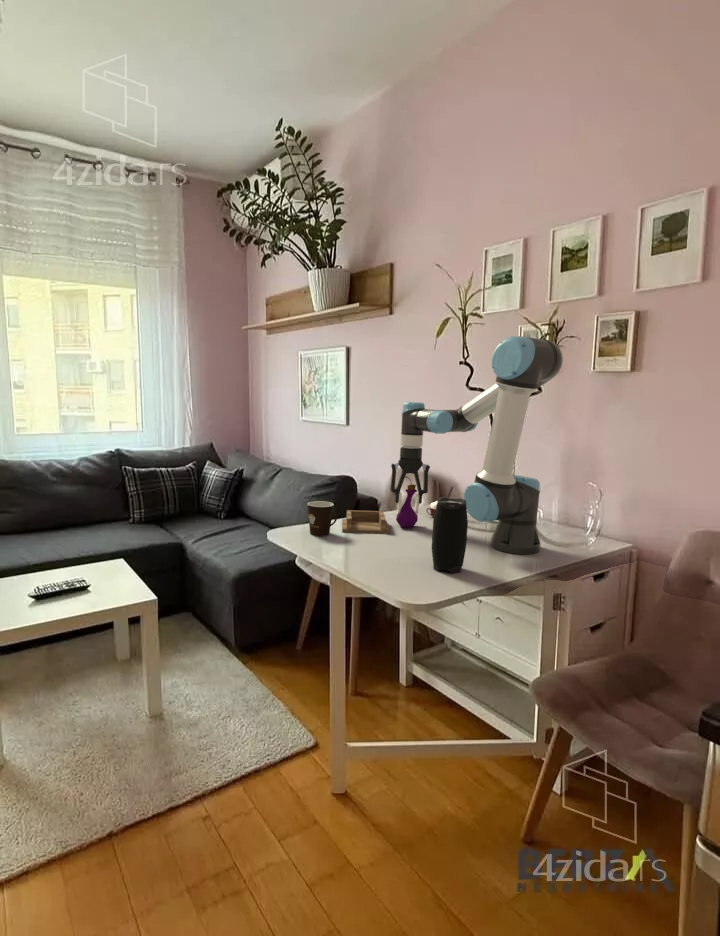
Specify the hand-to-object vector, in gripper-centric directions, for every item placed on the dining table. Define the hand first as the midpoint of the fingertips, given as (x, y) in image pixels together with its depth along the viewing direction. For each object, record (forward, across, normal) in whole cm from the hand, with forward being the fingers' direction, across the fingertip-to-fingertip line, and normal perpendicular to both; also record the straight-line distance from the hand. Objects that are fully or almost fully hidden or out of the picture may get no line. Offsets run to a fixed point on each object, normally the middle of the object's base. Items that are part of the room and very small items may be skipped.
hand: (407, 511), depth 199 cm
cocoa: (+6, -14, -16) cm, 22 cm away
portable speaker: (+6, -6, +45) cm, 46 cm away
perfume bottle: (+5, 0, 0) cm, 5 cm away
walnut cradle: (+5, +15, +3) cm, 16 cm away
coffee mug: (+6, +30, +14) cm, 34 cm away
